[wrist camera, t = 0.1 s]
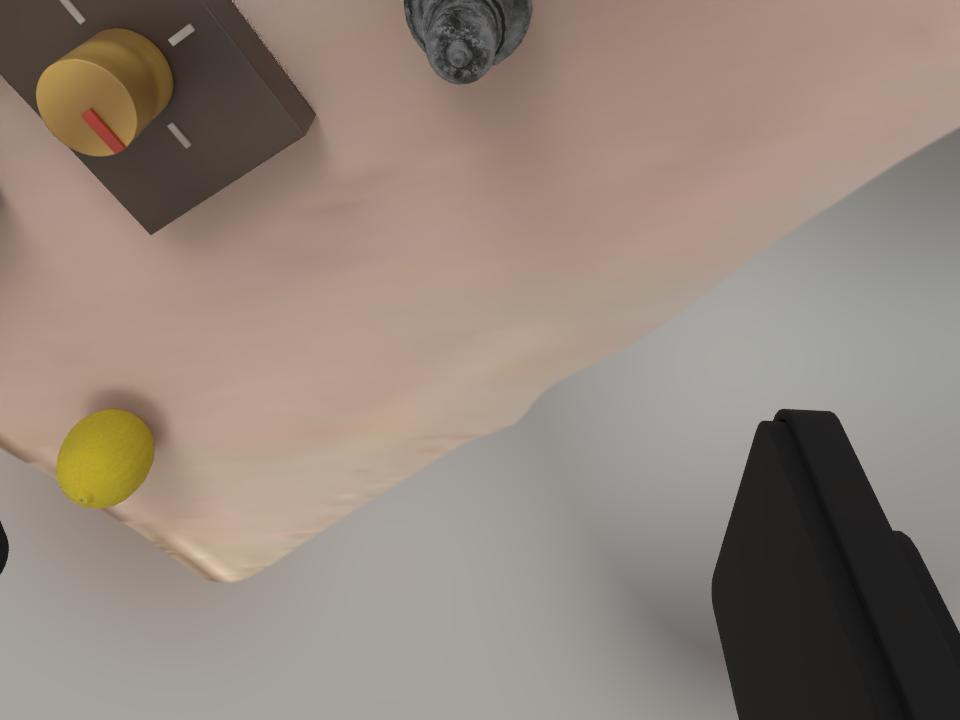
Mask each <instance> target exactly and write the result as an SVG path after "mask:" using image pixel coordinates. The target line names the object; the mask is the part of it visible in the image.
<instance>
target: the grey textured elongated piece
mask: <svg viewBox="0 0 960 720" xmlns="http://www.w3.org/2000/svg"><path fill="white" fill-rule="evenodd" d="M404 8H405V15H406V21H407V24H408V26H409V28H410V31H411V33H412V36H413V38H414V39H415V40H416V42H417V43H418V45H419V46H420V47H421V49H422V50H423V51H424V52H425V53H426V54H427V58H428V60H429V63H430V65H431V67H432V68H433V69H434V71H435V72H436V74H438V75H439V76H440V77H441V78H442V79H444V80H446V81H448V82H450V83H454V84H469V83H471V82H474V81H476V80H478V79H479V78H481V77H482V76H483V75H485V73H486V72H487V71H488V70H489V68H490V67H491V66H494V65H496V64H498V63H500V62H501V61H503V60H504V59H505V58H507V57H508V56H510V55H511V54H512V53H513V52H514V50H515V49H516V48H517V47H518V46H519V44H520V43H521V42H522V40H523V38H524V36H525V34H526V32H527V29H528V27H529V24H530V19H531V14H532V0H404Z"/></svg>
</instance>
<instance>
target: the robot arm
mask: <svg viewBox="0 0 960 720" xmlns="http://www.w3.org/2000/svg"><path fill="white" fill-rule="evenodd" d="M8 551H9V544H8V539H7V536H6V534H5V532H4V529H3V526H2V524H1V522H0V574H1V573H2V571H3V569H4V567H5V564H6V561H7V558H8ZM712 603H713V609H714V613H715V617H716V622H717V626H718V631H719V635H720V639H721V643H722V648H723V652H724V657H725V661H726V666H727V670H728V674H729V679H730V682H731V687H732V691H733V696H734V700H735V705H736V709H737V713H738V717H739V720H960V633H959V631H958V629H957V627H956V625H955V623H954V621H953V619H952V617H951V615H950V613H949V611H948V610H947V607H946V605H945V603H944V601H943V599H942V597H941V595H940V593H939V591H938V589H937V587H936V585H935V583H934V581H933V579H932V577H931V575H930V573H929V571H928V569H927V567H926V565H925V563H924V561H923V559H922V558H921V555H920V553H919V551H918V549H917V548H916V546H915V545H914V543H913V542H912V540H911V539H910V538H909V537H908V536H907V535H905V534H904V533H903V532H901V531H892V528H891V527H890V524H889V522H888V520H887V518H886V516H885V514H884V512H883V510H882V508H881V506H880V504H879V502H878V499H877V498H876V495H875V493H874V491H873V489H872V487H871V485H870V483H869V481H868V479H867V477H866V475H865V472H864V470H863V468H862V466H861V464H860V462H859V460H858V458H857V456H856V454H855V452H854V450H853V448H852V446H851V444H850V441H849V439H848V437H847V435H846V433H845V431H844V429H843V427H842V425H841V423H840V421H839V419H838V418H837V416H836V415H835V414H834V413H832V412H830V411H814V410H813V411H812V410H794V409H792V410H791V409H782V410H779V411H778V412H777V413H776V415H775V417H774V419H773V421H762V422H760V424H759V425H758V428H757V430H756V433H755V436H754V440H753V443H752V446H751V450H750V453H749V456H748V460H747V463H746V467H745V470H744V473H743V477H742V480H741V483H740V487H739V490H738V493H737V497H736V500H735V503H734V507H733V510H732V513H731V517H730V520H729V523H728V527H727V530H726V534H725V537H724V540H723V544H722V547H721V550H720V554H719V557H718V560H717V564H716V567H715V570H714V574H713V579H712Z"/></svg>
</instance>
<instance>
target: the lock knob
mask: <svg viewBox="0 0 960 720" xmlns="http://www.w3.org/2000/svg"><path fill="white" fill-rule="evenodd" d="M172 92H173V77H172V72H171V69H170V66H169V64H168V62H167V60H166V58H165V57H164V55H163V54H162V52H161V51H160V50H159V49H158V48H157V47H156V46H155V45H154V44H153V43H152V42H151V41H150V40H148V39H147V38H145V37H144V36H142V35H140V34H138V33H136V32H133V31H130V30H127V29H120V28H113V29H107V30H103V31H101V32H99V33H97V34H96V35H94V36H93V37H91V38H90V39H88V40H87V41H85V42H84V43H82V44H81V45H79V46H78V47H77V48H75V49H74V50H72V51H71V52H69V53H68V54H66V55H65V56H63V57H62V58H60V59H59V60H58V61H56V62H55V63H53V64H52V65H50V66H49V67H48V68H47V69H46V70H45V71H44V72H43V73H42V75H41V77H40V79H39V81H38V84H37V90H36V100H37V106H38V109H39V112H40V115H41V117H42V119H43V121H44V123H45V124H46V126H47V127H48V128H49V130H50V131H51V132H52V133H53V134H54V135H55V136H56V137H57V138H58V139H59V140H60V141H61V142H63V143H64V144H65V145H67V146H68V147H70V148H72V149H74V150H76V151H78V152H80V153H83V154H87V155H91V156H110V155H114V154H118V153H119V152H121V151H122V150H124V149H125V148H126V147H127V146H128V145H129V144H130V143H131V142H132V141H133V140H134V139H135V138H136V137H137V136H138V135H139V134H140V133H141V132H142V131H143V130H144V129H145V128H146V127H147V126H148V125H149V124H150V123H151V122H152V121H153V120H154V119H155V118H156V117H157V116H158V115H159V114H160V113H161V111H162V110H163V109H164V108H165V107H166V106H167V105H168V103H169V101H170V99H171V96H172Z"/></svg>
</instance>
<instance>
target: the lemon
mask: <svg viewBox="0 0 960 720" xmlns="http://www.w3.org/2000/svg"><path fill="white" fill-rule="evenodd" d="M153 458H154V440H153V437H152V433H151V431H150V430H149V428H148V426H147V425H146V424H145V423H144V422H143V421H142V420H141V419H140V418H139V417H137V416H136V415H134V414H132V413H130V412H128V411H124V410H120V409H106V410H100V411H97V412H95V413H92V414H90V415H88V416H86V417H85V418H84V419H82V420H81V421H80V422H79V423H77V424H76V425H75V426H74V427H73V428H72V429H71V431H70V432H69V433H68V435H67V437H66V438H65V440H64V442H63V444H62V446H61V448H60V451H59V454H58V459H57V466H56V475H57V479H58V483H59V485H60V487H61V488H62V490H63V492H64V493H65V494H66V495H67V496H68V497H69V498H70V499H71V500H73V501H74V502H75V503H77V504H79V505H82V506H85V507H90V508H106V507H110V506H114V505H116V504H118V503H120V502H122V501H124V500H125V499H127V498H128V497H129V496H130V495H131V494H132V493H133V492H134V491H135V490H136V489H137V488H138V487H139V486H140V485H141V484H142V483H143V481H144V480H145V478H146V476H147V474H148V472H149V470H150V468H151V465H152V462H153Z"/></svg>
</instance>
